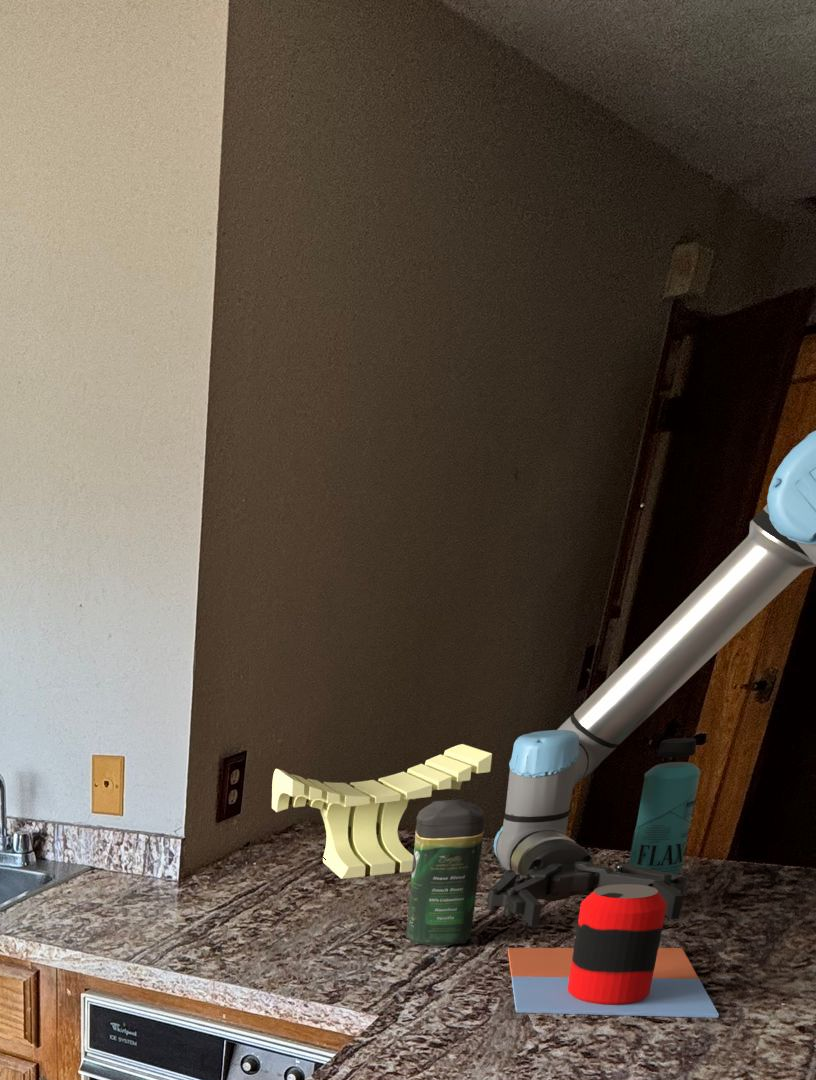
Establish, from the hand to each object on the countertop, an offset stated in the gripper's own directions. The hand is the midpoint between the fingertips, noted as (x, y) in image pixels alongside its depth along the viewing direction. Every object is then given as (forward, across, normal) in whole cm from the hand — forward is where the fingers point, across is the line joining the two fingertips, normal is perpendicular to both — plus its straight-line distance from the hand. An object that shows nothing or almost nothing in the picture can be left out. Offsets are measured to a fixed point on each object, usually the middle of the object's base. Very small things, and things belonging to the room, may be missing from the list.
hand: (605, 911), depth 114 cm
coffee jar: (-20, +13, -9) cm, 25 cm away
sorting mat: (0, -1, -8) cm, 9 cm away
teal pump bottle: (-40, -18, -9) cm, 45 cm away
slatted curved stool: (-63, +16, -9) cm, 66 cm away
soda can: (+5, 0, -8) cm, 10 cm away
